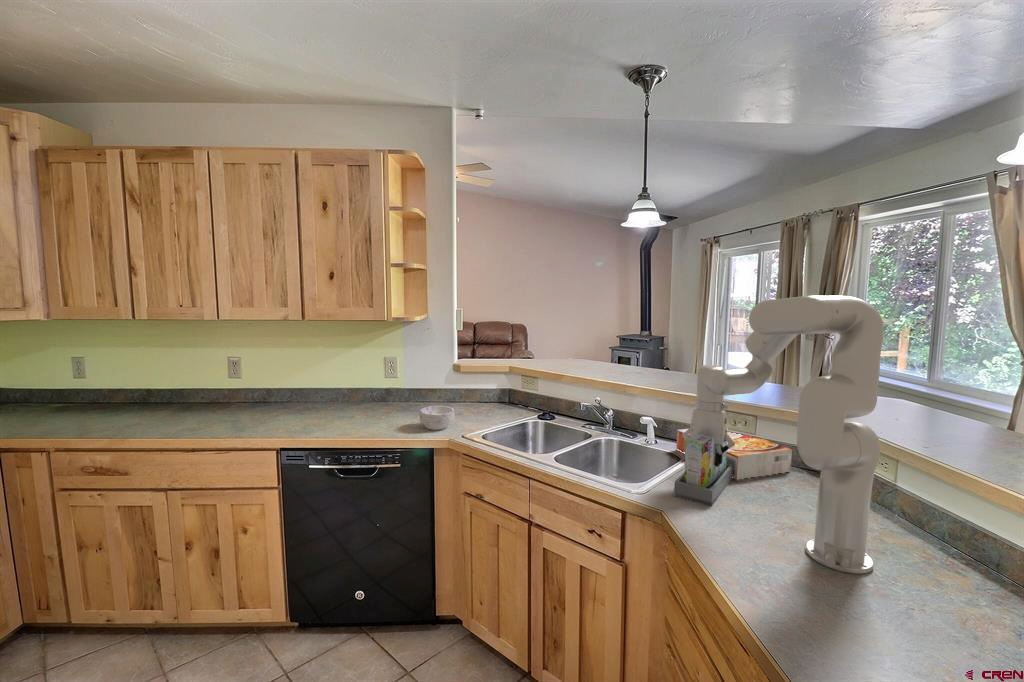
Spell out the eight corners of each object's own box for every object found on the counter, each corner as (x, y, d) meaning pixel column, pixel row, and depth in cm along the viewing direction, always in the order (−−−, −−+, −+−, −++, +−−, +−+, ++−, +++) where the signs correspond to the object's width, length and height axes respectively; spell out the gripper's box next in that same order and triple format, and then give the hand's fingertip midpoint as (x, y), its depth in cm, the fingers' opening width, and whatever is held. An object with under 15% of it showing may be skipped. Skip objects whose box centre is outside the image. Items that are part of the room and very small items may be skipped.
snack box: (709, 467, 154) (711, 423, 152) (726, 472, 150) (729, 427, 148) (682, 487, 138) (684, 438, 136) (701, 493, 134) (704, 443, 133)
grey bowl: (451, 432, 197) (451, 414, 196) (416, 432, 197) (416, 413, 196) (456, 422, 212) (456, 405, 211) (423, 422, 212) (423, 405, 212)
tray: (711, 506, 131) (712, 491, 130) (673, 496, 137) (674, 481, 137) (732, 478, 151) (733, 464, 151) (698, 470, 158) (699, 457, 157)
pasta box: (738, 456, 149) (677, 429, 177) (736, 480, 150) (676, 450, 178) (792, 449, 156) (725, 425, 184) (790, 472, 157) (724, 444, 185)
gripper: (742, 407, 139) (739, 466, 141) (684, 399, 150) (681, 453, 151) (737, 412, 133) (733, 473, 135) (676, 403, 144) (674, 460, 146)
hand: (706, 462), depth 143 cm, fingers closed on snack box, 5 cm apart
